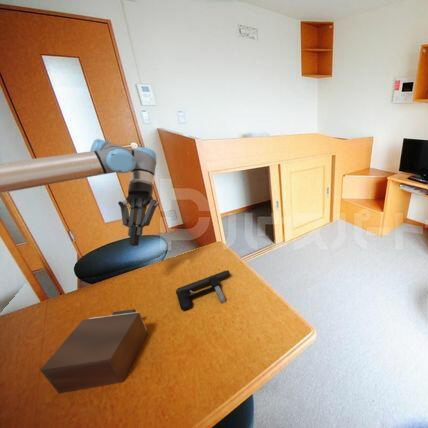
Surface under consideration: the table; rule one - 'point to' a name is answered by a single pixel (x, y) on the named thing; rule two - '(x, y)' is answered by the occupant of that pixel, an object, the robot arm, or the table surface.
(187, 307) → the black clamp
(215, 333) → the table surface
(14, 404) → the table surface
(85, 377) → the cabinet
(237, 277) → the table surface
